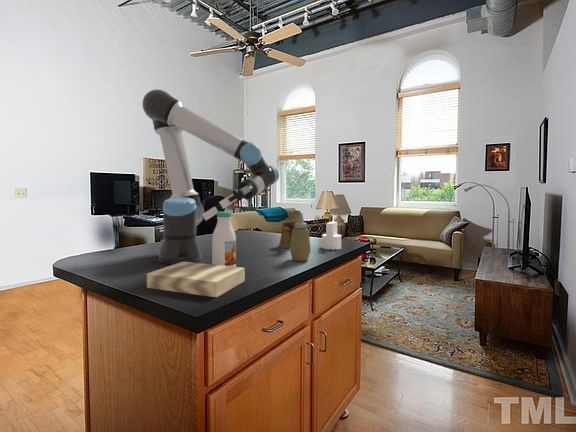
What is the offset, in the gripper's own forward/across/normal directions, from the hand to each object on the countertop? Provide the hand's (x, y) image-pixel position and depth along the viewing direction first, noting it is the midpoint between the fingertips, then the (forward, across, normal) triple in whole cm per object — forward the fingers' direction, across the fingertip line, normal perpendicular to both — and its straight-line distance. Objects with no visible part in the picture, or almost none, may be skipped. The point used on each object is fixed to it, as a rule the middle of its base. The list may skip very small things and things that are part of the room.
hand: (212, 211), depth 118 cm
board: (+24, -10, -16) cm, 31 cm away
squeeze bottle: (-17, -5, -34) cm, 39 cm away
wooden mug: (-34, +15, -33) cm, 50 cm away
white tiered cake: (-46, +4, -44) cm, 64 cm away
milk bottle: (+12, -3, -19) cm, 22 cm away
